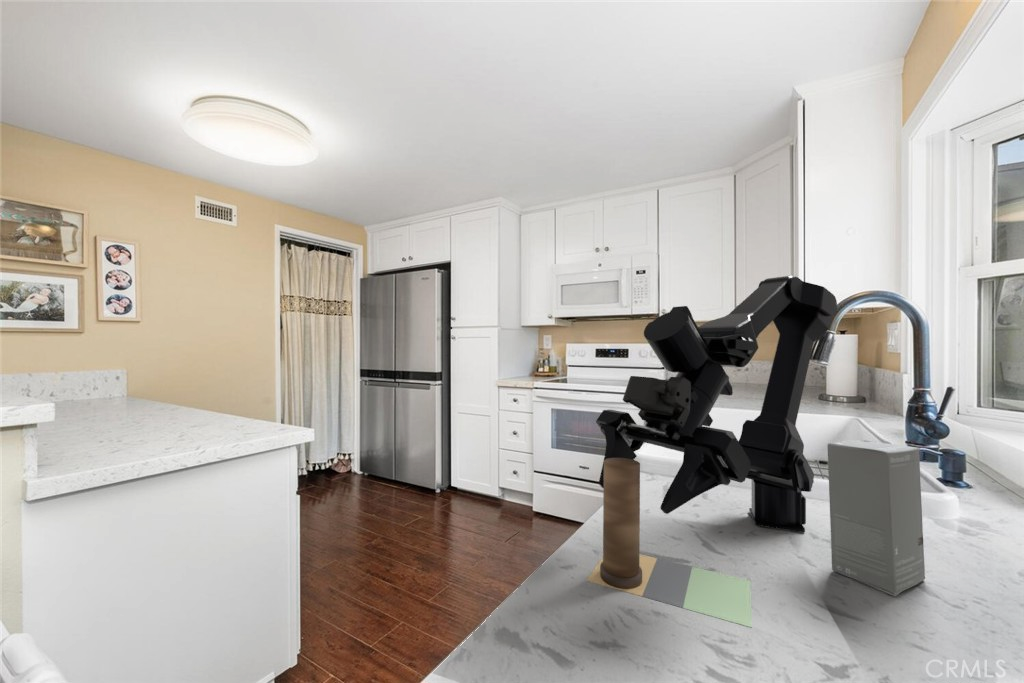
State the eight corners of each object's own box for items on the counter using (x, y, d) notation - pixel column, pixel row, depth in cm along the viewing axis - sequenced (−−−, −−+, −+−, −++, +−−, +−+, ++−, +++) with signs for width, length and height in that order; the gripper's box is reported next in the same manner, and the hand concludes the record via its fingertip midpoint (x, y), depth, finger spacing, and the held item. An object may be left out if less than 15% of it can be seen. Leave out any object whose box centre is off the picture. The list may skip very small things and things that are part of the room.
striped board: (587, 591, 47) (587, 580, 47) (609, 556, 55) (609, 546, 55) (751, 640, 39) (751, 627, 39) (750, 591, 47) (750, 580, 47)
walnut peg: (596, 583, 46) (597, 465, 47) (603, 563, 51) (604, 455, 51) (640, 592, 45) (641, 470, 45) (643, 571, 49) (644, 459, 49)
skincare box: (895, 599, 46) (895, 454, 46) (822, 568, 52) (823, 441, 52) (929, 580, 50) (929, 446, 50) (857, 553, 56) (857, 435, 56)
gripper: (606, 352, 60) (542, 437, 53) (736, 355, 44) (667, 477, 38) (643, 404, 64) (588, 489, 58) (774, 424, 48) (717, 545, 42)
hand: (630, 497), depth 49 cm, fingers open, 9 cm apart
